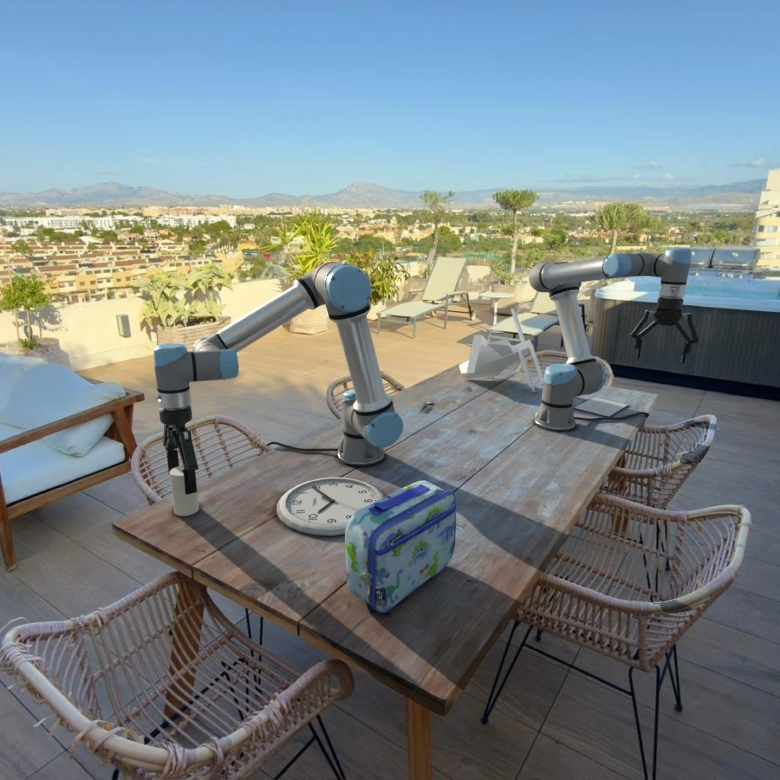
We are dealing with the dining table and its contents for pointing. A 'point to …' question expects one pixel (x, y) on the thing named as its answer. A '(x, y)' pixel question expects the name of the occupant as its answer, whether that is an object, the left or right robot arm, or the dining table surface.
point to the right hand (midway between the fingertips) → (659, 360)
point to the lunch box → (399, 543)
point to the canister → (182, 494)
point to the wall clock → (325, 504)
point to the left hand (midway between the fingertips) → (182, 482)
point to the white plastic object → (499, 356)
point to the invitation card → (601, 406)
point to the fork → (427, 403)
